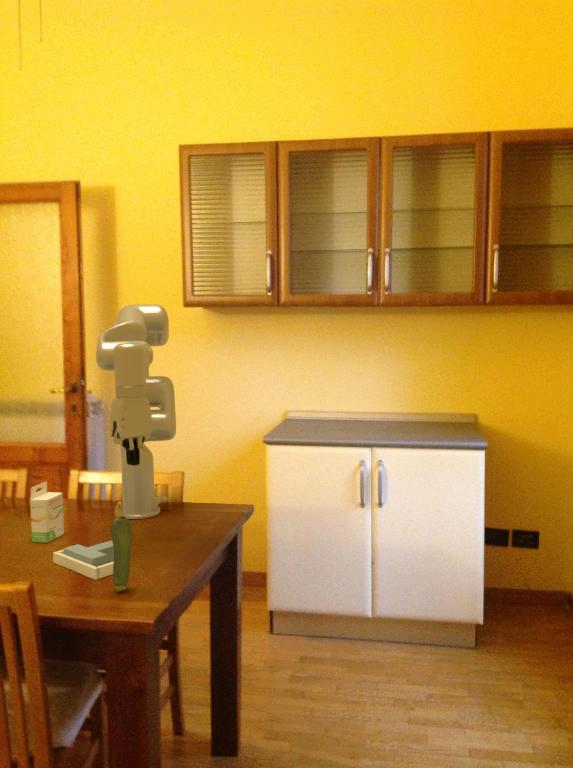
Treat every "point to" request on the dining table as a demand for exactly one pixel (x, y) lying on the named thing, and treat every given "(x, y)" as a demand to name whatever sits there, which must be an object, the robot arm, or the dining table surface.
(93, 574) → the dock
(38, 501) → the ink box
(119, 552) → the vegetable
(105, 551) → the t block
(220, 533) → the dining table surface
